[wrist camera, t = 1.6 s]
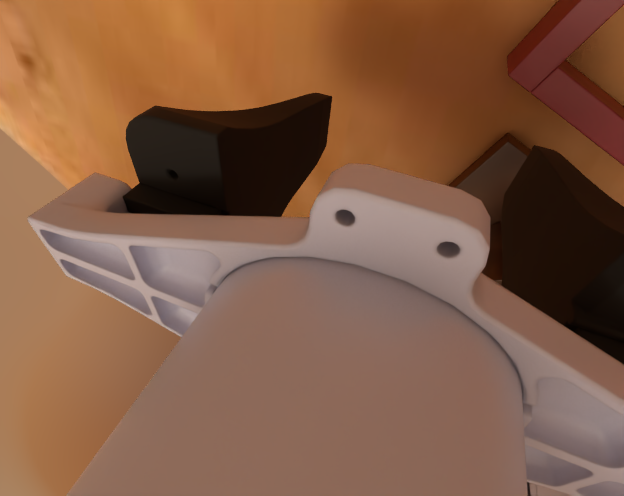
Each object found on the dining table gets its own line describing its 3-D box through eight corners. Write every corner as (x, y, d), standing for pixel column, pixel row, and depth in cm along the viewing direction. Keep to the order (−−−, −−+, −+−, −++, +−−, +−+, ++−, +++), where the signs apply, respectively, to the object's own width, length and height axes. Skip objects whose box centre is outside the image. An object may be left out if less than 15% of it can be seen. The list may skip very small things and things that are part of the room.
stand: (629, 224, 22) (663, 306, 17) (497, 290, 29) (498, 359, 25) (507, 132, 21) (510, 193, 16) (403, 225, 28) (386, 285, 24)
